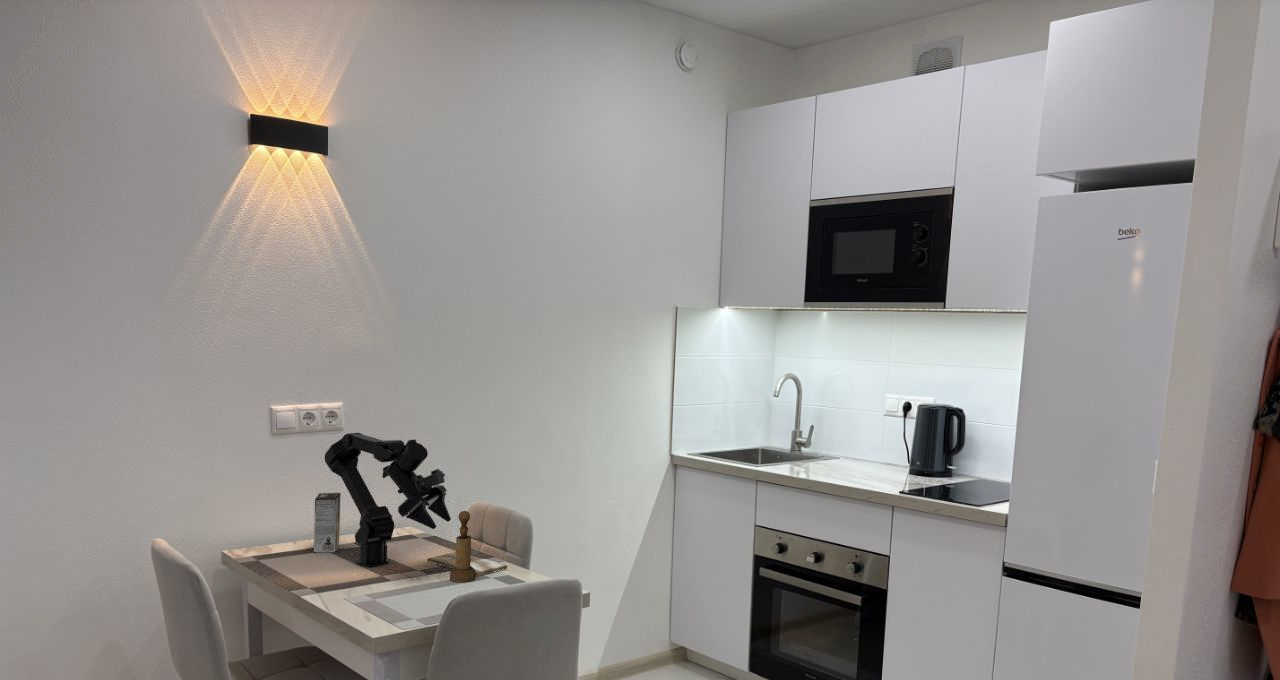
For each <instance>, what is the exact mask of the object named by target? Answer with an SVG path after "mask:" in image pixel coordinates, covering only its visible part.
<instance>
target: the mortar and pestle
mask: <svg viewBox="0 0 1280 680" xmlns="http://www.w3.org/2000/svg"><path fill="white" fill-rule="evenodd" d="M458 520H459V523H460V527H459V534H460V535H458V536H456V538H455V542H456V543H455V552H456V565H455V567H454V568H453V569H450V571H449V580H450V581H451V582H453V583H469V582H472V581H473V582H474V581H475V580H476V576H475V574H476V571H475V569H474V568H473V567H471V566H470V563H471V556H472V554H471V552H472V536H471V535H468V531H469V527H468V523H469V521H470V520H471V514H470V512H469V511H468V510H463V511H460V512H459V513H458Z"/></svg>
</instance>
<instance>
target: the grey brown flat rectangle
mask: <svg viewBox="0 0 1280 680" xmlns="http://www.w3.org/2000/svg"><path fill="white" fill-rule="evenodd" d="M426 560H427V561H431V562H434V563H437V564H441V565H444V566H447V567H451V568H454V567H455V565H456V551H454V552H451V553H446V554H445V553H444V554H441V555H440V554H439V555H435V556H432V557H431V556H430V557H427V559H426ZM437 564H436V565H437ZM470 566H471V567H473V568H474V569H475V571H476V574H475V575H476V576H475V577H477V576H478V577H482V576H485V575H484V574H486V575H489V574H488V573H490V574H492V573H491V572H494V571H498V570H502V569H506V568H507V569H508V565H507V564H505V563H504V564H503V563H501V562H496V561H493V560H490V559H485V558H482V557H481V558H480V557H476V556H473V555H471V563H470ZM447 567H446V568H447ZM507 569H506V570H507ZM502 571H503V570H502ZM498 572H499V571H498ZM494 573H495V572H494ZM481 575H482V576H481Z"/></svg>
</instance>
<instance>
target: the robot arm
mask: <svg viewBox="0 0 1280 680" xmlns="http://www.w3.org/2000/svg"><path fill="white" fill-rule="evenodd" d="M362 452H364V453H368V454H371V455H372V456H373V459H375V460H376V461H377V462H380V463H390V464H389V465H386V466H384V467H383V468H382V478H383V479H385V478H387V477H389V478H390V479H391V480H392V482H393V483H394V484H395V485H396V486H397V488H398V490H397V492H398V494H400V495H401V494H402V495H404V496H405V498H406V499H405V500H404V501H403V502H402V503H400V505H399V506H398V507H397V512H398V513H399V515H400V516H401V518H404V517H405V518H406V519H410V520H412V521H415V522H417V523H419V524H421V525H424V526H425V527H427V528H429V529H432V530H435V529H436V528H437V525H436V523H435V520H434V519H433V518H432V516H431V515H430V513H429V512H428V510H430V511H431V512H432V513H434V514H435V515H437V516H438V517H440V518H441V519H442V520H444V521H446V522H448V523H449V522H450V521H451V520H452V518H451V516H450V513H449V511H448V509H447V506H446V503H445V499H446V495H447V488H446V487H445V486H444V485H443V483H445V482H446V480H445V476H446V474H445V473H444V472H443V470H440V469H439V468H437V469H434V470H431V472H430V475H428V476H425V477H424V476H423V475H422V474H417V473H415V471H416V470H417V469H418V468H419V467H420V465H421V464H423V462H424V461H425V460H426V459H427V457H428V454H429V453H428V449H427V448H426V447H425V446H424V445H423V444H421V443H418V442H417V440H416V439H408V440H407V442H406V443H405V442H404V441H403V440H402V439H390V440H389V439H388V440H387V439H386V440H384V439H379V438H376V437H373V436H369V435H365V434H364V433H361V432H352V433H351V432H350V433H349V432H348V433H346V434H344V435H343V436H342V437H341V439H339V440H337V441H336V442H334V443H333V444H331V446H330V447H329V448H328V449H327V451H326V452H325V454H324V462H325V463H326V465H327V467H328V468H329V469H330V471H331V472H332V473H334V474H336V475H338V476H339V477H340V478H341V480H342V482H343V483H344V485H345V487H346V489H347V491H348V493H349V495H350V497H351V498H352V501H353V502H354V504H355V506H356V508H357V510H358V513H359V514H360V519H359V524H358V525H359V528H358V530H357V531H356V532H355V534H354V539H355V540H354V541H355V543H357V544H360V545H359V546H360V550H359V551H360V552H359V555H360V556H359V560H357V561H356V564H359V565H361V566H364V567H368V568H372V567H378V566H382V565H386V564H389V563H390V561H389V560H388V544H387V541H391V540H392V538H393V533H394V529H395V522H394V520H393V515H392V514H391V513H390V510H389V509H388V507H387V506H386V505H384V506H381V505H380V506H378V504H377V503H376V500H375V499H374V497H373V495H372V493H371V491H370V489H369V488H368V486H367V484H366V483H365V480H364V478H363V477H362V475H361V473H360V471H359V469H358V463H359V456H360V455H361V453H362ZM427 509H428V510H427Z"/></svg>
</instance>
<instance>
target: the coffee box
mask: <svg viewBox="0 0 1280 680" xmlns="http://www.w3.org/2000/svg"><path fill="white" fill-rule="evenodd" d="M341 495H342V494H341V492H319V493H318V494H317V496H316V497H315V498H314V521H313V522H314V528H313V529H314V531H313V553H314V552H322V553H336V552H337V550H338V548H339V546H340V530H341V527H340V526H341V525H340V524H341V523H340V522H341ZM335 551H336V552H335Z"/></svg>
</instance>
